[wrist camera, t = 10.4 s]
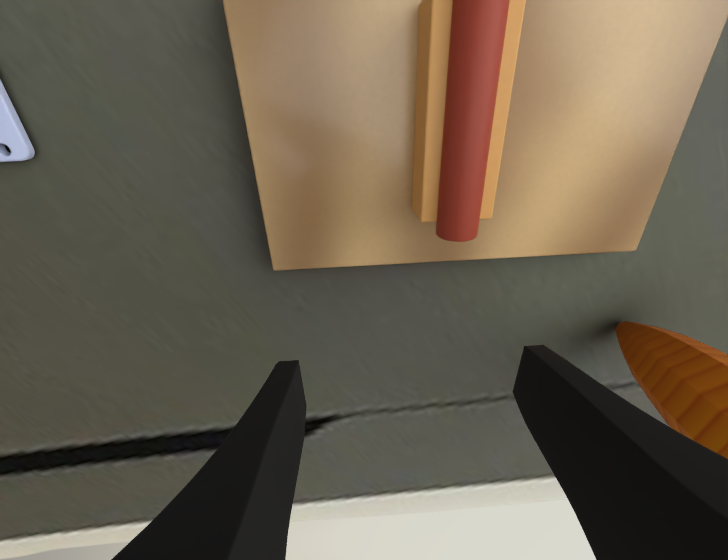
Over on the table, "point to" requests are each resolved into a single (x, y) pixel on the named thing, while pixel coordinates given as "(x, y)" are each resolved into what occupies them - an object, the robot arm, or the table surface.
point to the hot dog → (462, 109)
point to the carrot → (680, 381)
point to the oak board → (522, 136)
